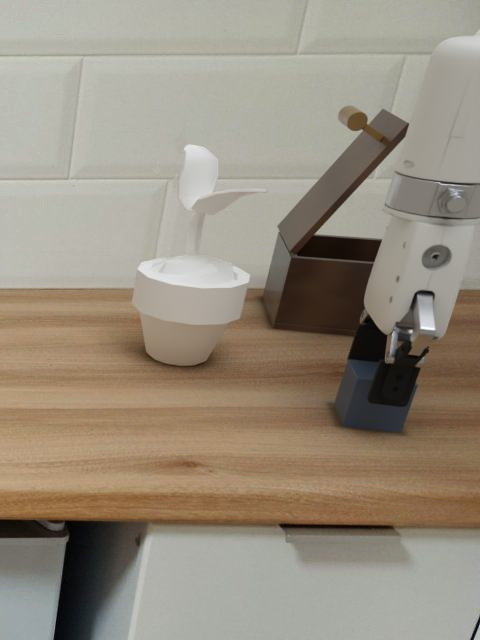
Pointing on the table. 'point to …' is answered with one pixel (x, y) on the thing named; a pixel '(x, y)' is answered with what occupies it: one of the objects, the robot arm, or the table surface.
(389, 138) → the lid
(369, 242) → the chest
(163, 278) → the potted plant
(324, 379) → the table surface
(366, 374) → the block
